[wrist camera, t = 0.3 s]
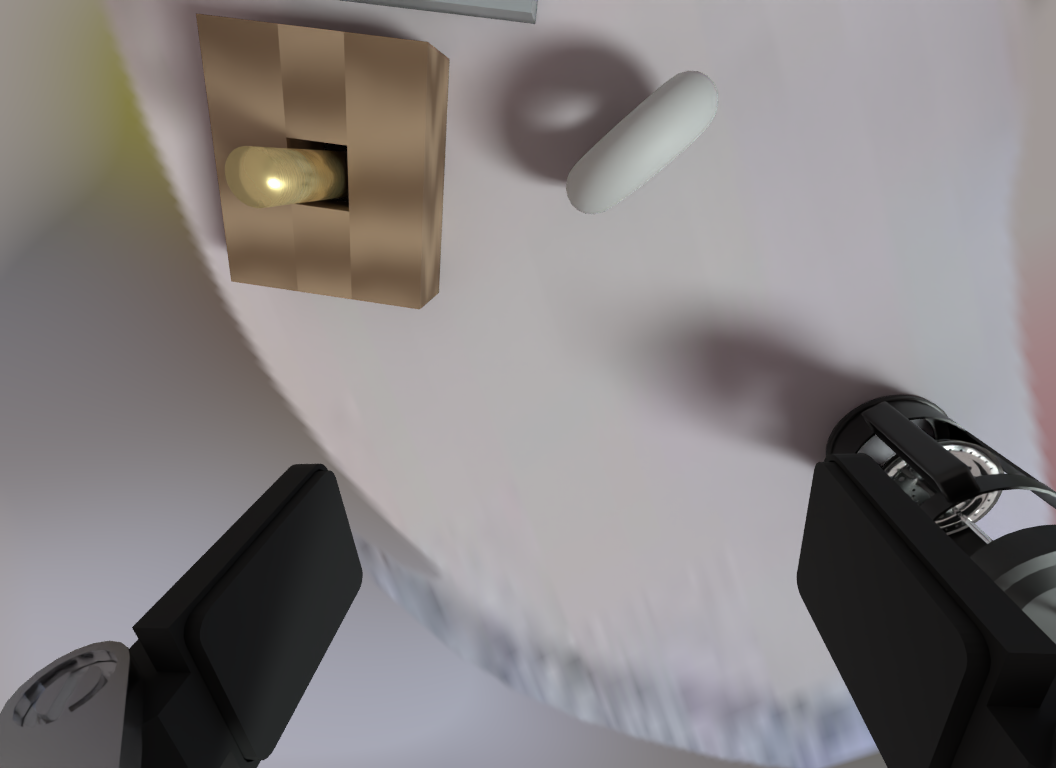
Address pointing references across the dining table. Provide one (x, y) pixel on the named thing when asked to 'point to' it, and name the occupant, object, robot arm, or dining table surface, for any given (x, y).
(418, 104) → the pin block
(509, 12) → the tray
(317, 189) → the pin
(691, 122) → the donut
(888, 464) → the french press
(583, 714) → the dining table surface
